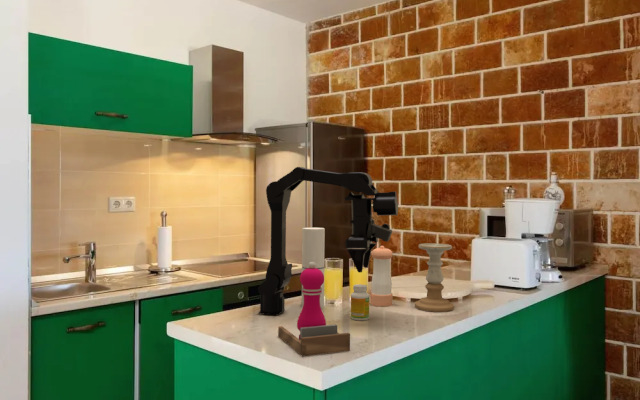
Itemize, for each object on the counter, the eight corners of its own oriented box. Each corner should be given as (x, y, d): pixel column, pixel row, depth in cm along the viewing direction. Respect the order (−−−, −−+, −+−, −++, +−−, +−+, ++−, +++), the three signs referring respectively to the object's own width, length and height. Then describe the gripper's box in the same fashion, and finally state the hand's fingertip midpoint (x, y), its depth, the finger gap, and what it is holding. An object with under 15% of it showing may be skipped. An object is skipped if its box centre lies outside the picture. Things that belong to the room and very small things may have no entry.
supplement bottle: (367, 321, 157) (368, 287, 156) (349, 320, 158) (349, 286, 157) (370, 316, 162) (370, 284, 162) (352, 315, 163) (352, 283, 163)
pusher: (300, 348, 129) (300, 327, 129) (335, 344, 133) (335, 324, 133) (301, 349, 128) (301, 328, 128) (337, 345, 132) (337, 325, 132)
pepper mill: (296, 338, 138) (296, 259, 138) (324, 338, 139) (325, 259, 138) (297, 346, 131) (298, 263, 131) (327, 346, 132) (328, 263, 131)
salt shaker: (366, 304, 178) (367, 246, 178) (376, 300, 184) (376, 244, 184) (386, 307, 174) (387, 247, 174) (396, 303, 181) (396, 245, 180)
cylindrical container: (307, 309, 170) (308, 229, 170) (297, 305, 177) (298, 227, 176) (327, 307, 174) (328, 228, 173) (317, 303, 180) (318, 227, 179)
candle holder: (451, 313, 167) (452, 248, 166) (411, 310, 171) (412, 246, 171) (456, 305, 178) (457, 244, 178) (418, 302, 183) (419, 242, 182)
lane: (278, 336, 140) (278, 320, 140) (321, 331, 145) (321, 316, 145) (302, 356, 124) (302, 338, 124) (349, 350, 129) (350, 333, 128)
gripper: (384, 217, 146) (386, 275, 147) (394, 213, 164) (395, 265, 165) (344, 217, 149) (345, 274, 150) (357, 214, 167) (359, 265, 168)
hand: (363, 269), depth 158 cm, fingers open, 9 cm apart
